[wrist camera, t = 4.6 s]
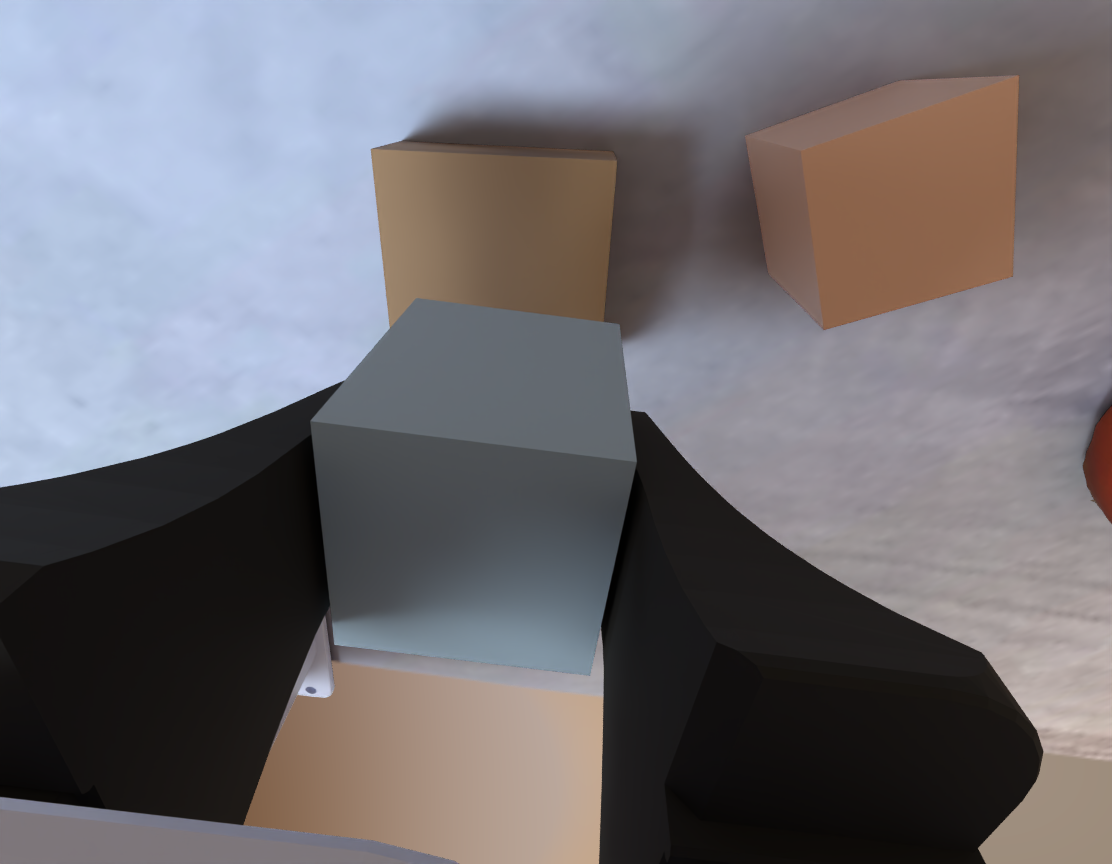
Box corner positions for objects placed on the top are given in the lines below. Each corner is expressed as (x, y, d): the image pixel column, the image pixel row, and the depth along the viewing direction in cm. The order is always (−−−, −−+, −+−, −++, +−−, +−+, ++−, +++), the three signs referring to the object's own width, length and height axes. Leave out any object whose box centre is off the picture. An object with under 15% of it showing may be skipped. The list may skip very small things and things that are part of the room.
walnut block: (419, 337, 20) (394, 374, 17) (404, 140, 17) (370, 149, 14) (596, 346, 20) (598, 385, 17) (612, 150, 17) (617, 160, 14)
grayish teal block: (417, 468, 13) (334, 645, 9) (416, 298, 11) (310, 421, 7) (589, 489, 14) (589, 675, 9) (619, 323, 12) (636, 462, 7)
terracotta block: (767, 273, 18) (823, 330, 14) (744, 135, 16) (800, 150, 12) (906, 230, 17) (1012, 276, 13) (898, 80, 15) (1018, 75, 11)
